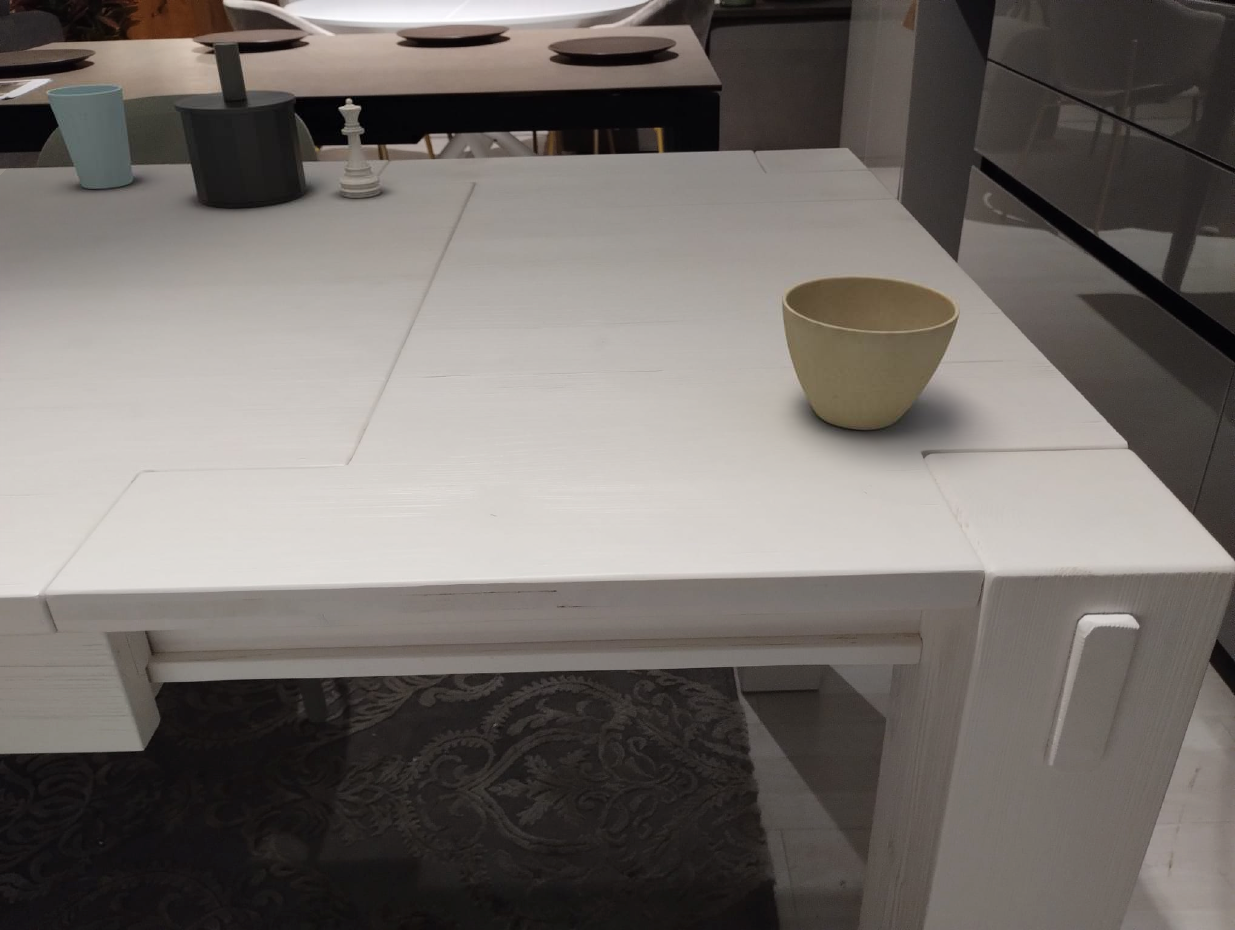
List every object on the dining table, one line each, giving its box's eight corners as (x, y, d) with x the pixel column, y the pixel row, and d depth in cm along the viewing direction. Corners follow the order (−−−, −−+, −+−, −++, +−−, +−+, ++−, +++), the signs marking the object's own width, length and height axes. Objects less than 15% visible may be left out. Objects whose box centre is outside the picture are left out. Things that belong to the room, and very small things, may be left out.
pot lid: (158, 122, 103) (142, 51, 99) (200, 102, 113) (187, 37, 110) (278, 120, 103) (266, 49, 99) (309, 100, 113) (299, 36, 110)
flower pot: (946, 458, 57) (966, 338, 53) (767, 441, 59) (775, 325, 55) (938, 385, 65) (954, 278, 62) (781, 373, 67) (788, 269, 64)
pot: (182, 209, 107) (162, 115, 103) (218, 183, 117) (201, 97, 113) (290, 207, 107) (274, 113, 103) (317, 182, 117) (304, 95, 113)
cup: (58, 185, 118) (33, 90, 113) (123, 173, 123) (101, 82, 118) (89, 195, 113) (64, 97, 108) (154, 182, 118) (133, 88, 113)
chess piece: (354, 187, 115) (341, 94, 110) (388, 190, 113) (377, 96, 109) (333, 196, 111) (319, 101, 106) (368, 199, 110) (355, 102, 105)
